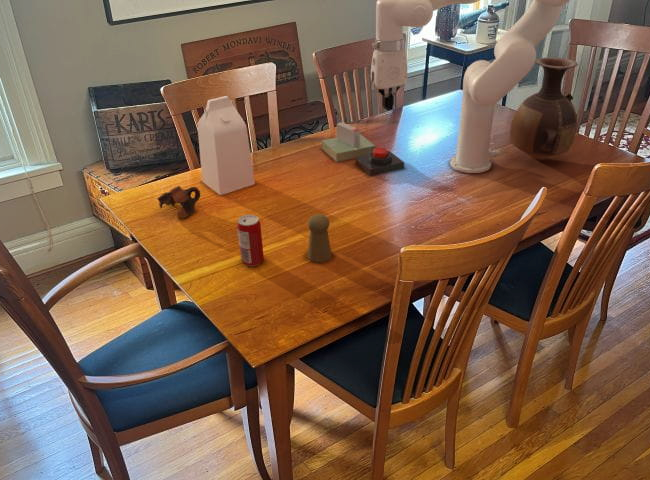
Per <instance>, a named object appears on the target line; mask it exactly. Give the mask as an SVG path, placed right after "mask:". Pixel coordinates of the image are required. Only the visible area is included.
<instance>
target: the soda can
mask: <svg viewBox="0 0 650 480" xmlns="http://www.w3.org/2000/svg"><path fill="white" fill-rule="evenodd" d="M236 227H237V236H238V244H239V251H240V261H241V263H242V264H244V265H245V266H248V267H255V266H256V267H257V266H259V265H260V264H262V263H263V262H264V260H265V257H264V256H265V255H264V246H263V237H262V226H261V222H260V220H259V217H258V216H257V215H256V214H244V215H242V216H240V217H239V218H238V219H237V226H236Z"/></svg>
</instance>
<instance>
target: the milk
mask: <svg viewBox="0 0 650 480" xmlns="http://www.w3.org/2000/svg"><path fill="white" fill-rule="evenodd" d="M248 134H249V133H248V128H247V124H246V122H245V120H244V119H243V117H242V116H241V114H240V113H239V112H238V110H237V109H236V107H235V106H234V104H233V102H232V101H231V99H230V97H229V96H228V95H224V96H219V97H216V98H211V99H208V100H207V103H206V108H205V111H204V112H203V114H202V115H201V117H200V118H199V120H198V121H197V136H198V146H199V158H200V170H201V181H202V183H203V184H204V185H206V186H207V187H208V188H210V190H212V191H214V192H215V193H216V194H217V195H219V196H223V195H226V194H228V193H232V192H235V191H238V190H241V189H245V188H248V187H250V186H253V185H255V184H256V181H255V175H254V174H255V173H254V168H253V162H252V154H251V147H250V139H249V135H248Z"/></svg>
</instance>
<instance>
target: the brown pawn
mask: <svg viewBox="0 0 650 480" xmlns="http://www.w3.org/2000/svg"><path fill="white" fill-rule="evenodd" d="M307 226H308V227H307V228H308V229H309V239H308V250H307V258H308V260H309V261H311V262H314V263H325V262H328V261H330V260H331V259H332V250H331V243H330V238H329V232H328V229H329V227H330V220H329V218H328V217H327V216H326V215H324V214H320V213H319V214H313V215H311V216H310V217H309V218H308V221H307Z"/></svg>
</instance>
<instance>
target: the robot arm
mask: <svg viewBox="0 0 650 480" xmlns="http://www.w3.org/2000/svg"><path fill="white" fill-rule="evenodd" d="M479 1H480V0H376V3H375V4H376V5H375V39H374V41H375V42H373V43H371V48H372V49H374V50H373V54H372V58H371V64H370V65H371V67H370V84H371V88H370V91H371V92H373V93H379V94H380V95H381V96H382V97H381V98H382V99H381V102H382V103H381V105H382V108H383V109H384V110H386V111H388V112H389V111H392V110H394V102H395V96H396V94H397V93H398V91H399V90H400V89H402V88H404V87H406V84H407V83H408V59H407V52H406V48H405V47H403V46H404V45H403V44H404V43H403V40H404V27H409V28H422V27H425V26H427V25H428V24H429V23H430V22H431V20H432V19H433V15H434V11H437V10H440V9H441V8H445V7H448V6H451V5H469V4H475V3H477V2H479ZM570 1H571V0H532V1H531V4H530V6H529V7H528V8H527V10H526V11H525V12H524V13H523V15H522V16H521V17H520V18H519V19H518V20H517V21H516V22H515V23H514V24H513V26H511V27H510V28H509V29H508V30H507V31H506V32H505V33H504V34H503V35H502V36H501V37H500V38H499V39H498V41H497V42H496V43H495V45H494V50H493V54H494V58H495V59H494V60H493V61H492V62H491V61H488V60H486V59H478V60H475V61H474V62H472V63H471V64H470V65H469V66H468V67H467V69H465V72H464V74H463V75H464V76H463V79H462V80H463V81H462V100H461V110H460V118H459V119H460V120H459V128H458V129H459V130H458V137H457V146H456V154H455V155H454V156H453V157H452V158H451V159H450V163H449V164H450V166H451V168H452V169H454V170H456V171H458V172H461V173H466V174H481V173H486V172H487V171H489V170H490V169H491V168H492V161H491V159H492V158H495V157H500V156H501V151H500V149H496V150H493V149H492V148H489V147H490V143H491V142H490V141H491V135H492V129H493V121H494V115H495V106H496V104H497V103H499V102H500V101H501V100H502V99H503V98H504V97H506V95H508V94H509V93H510V92H511V91H512V90H513V89H514V88H515V87H516V86H517V85H518V84H519V83H520V82H522V80H523V79H524V78H525V77H526V76H527V75H528V74H530V72H531V71H532V69H533V67H534V66H535V64H536V62H535V60H537V50H536V47H538V45H539V44H540V43H541V42H542V41H543V40H544V38H546V37H547V35H548V34H549V33H550V32H551V31H552V30H553V28H554V27H555V26H556V24H557V22H558V20H559V19H560V16H561V13H562V10H563V6H564V5H566V4H567V3H569V2H570Z"/></svg>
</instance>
